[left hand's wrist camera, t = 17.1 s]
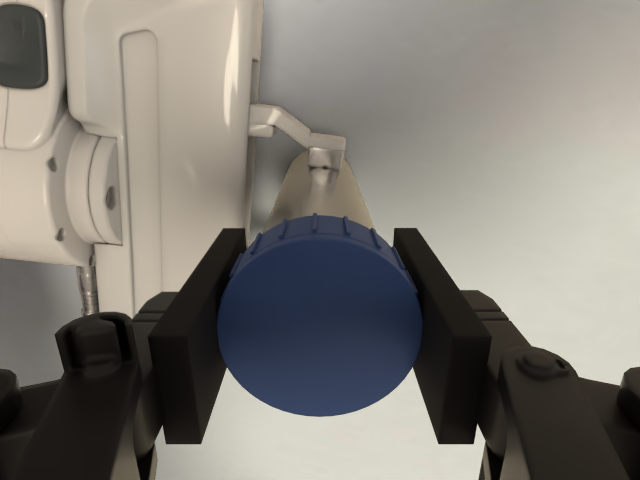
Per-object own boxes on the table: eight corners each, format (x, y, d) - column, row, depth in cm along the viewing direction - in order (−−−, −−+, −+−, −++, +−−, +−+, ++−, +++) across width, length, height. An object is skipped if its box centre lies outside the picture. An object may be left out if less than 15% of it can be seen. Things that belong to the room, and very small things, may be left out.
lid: (357, 177, 11) (364, 194, 9) (438, 327, 12) (459, 368, 10) (193, 268, 12) (170, 301, 10) (289, 396, 13) (284, 445, 11)
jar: (362, 200, 28) (425, 364, 11) (301, 222, 28) (274, 410, 12) (339, 137, 26) (374, 217, 10) (276, 162, 27) (204, 279, 10)
